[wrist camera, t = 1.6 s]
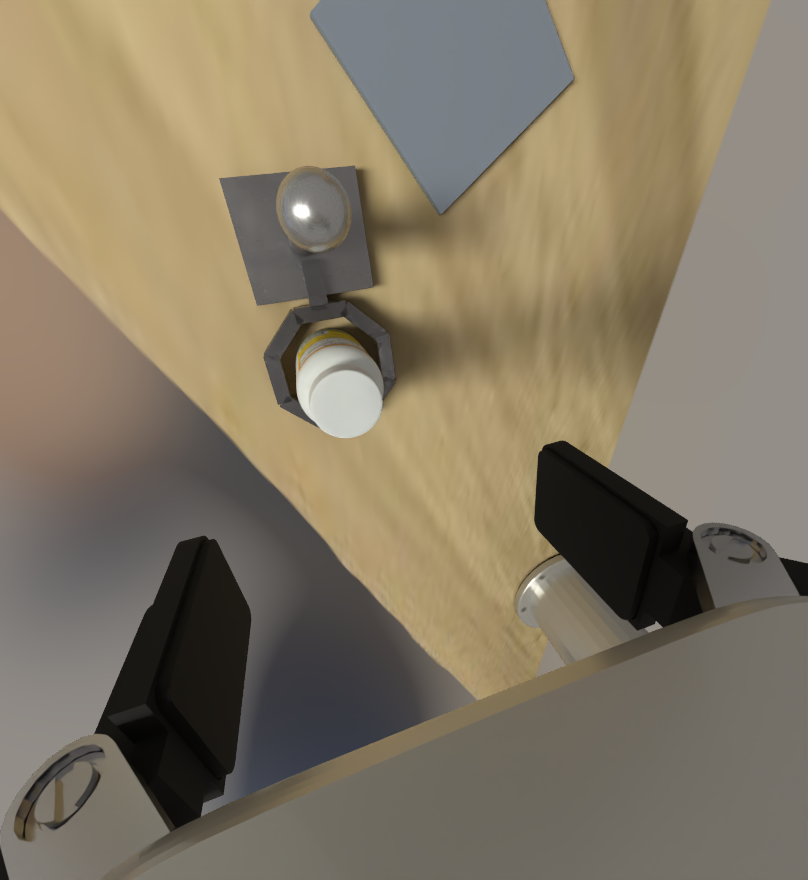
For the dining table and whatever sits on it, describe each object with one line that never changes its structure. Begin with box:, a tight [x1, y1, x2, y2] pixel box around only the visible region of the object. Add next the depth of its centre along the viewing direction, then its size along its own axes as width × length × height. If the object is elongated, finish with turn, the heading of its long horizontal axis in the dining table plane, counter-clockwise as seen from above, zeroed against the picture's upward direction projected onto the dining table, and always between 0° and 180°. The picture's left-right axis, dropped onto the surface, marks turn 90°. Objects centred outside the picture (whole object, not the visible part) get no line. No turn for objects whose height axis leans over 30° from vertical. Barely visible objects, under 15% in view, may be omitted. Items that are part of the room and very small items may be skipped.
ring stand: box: [219, 166, 396, 428], centre depth 20 cm, size 16×9×15 cm, turn 8°
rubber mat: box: [310, 0, 574, 215], centre depth 22 cm, size 12×12×1 cm
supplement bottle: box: [296, 329, 384, 438], centre depth 24 cm, size 5×5×10 cm
